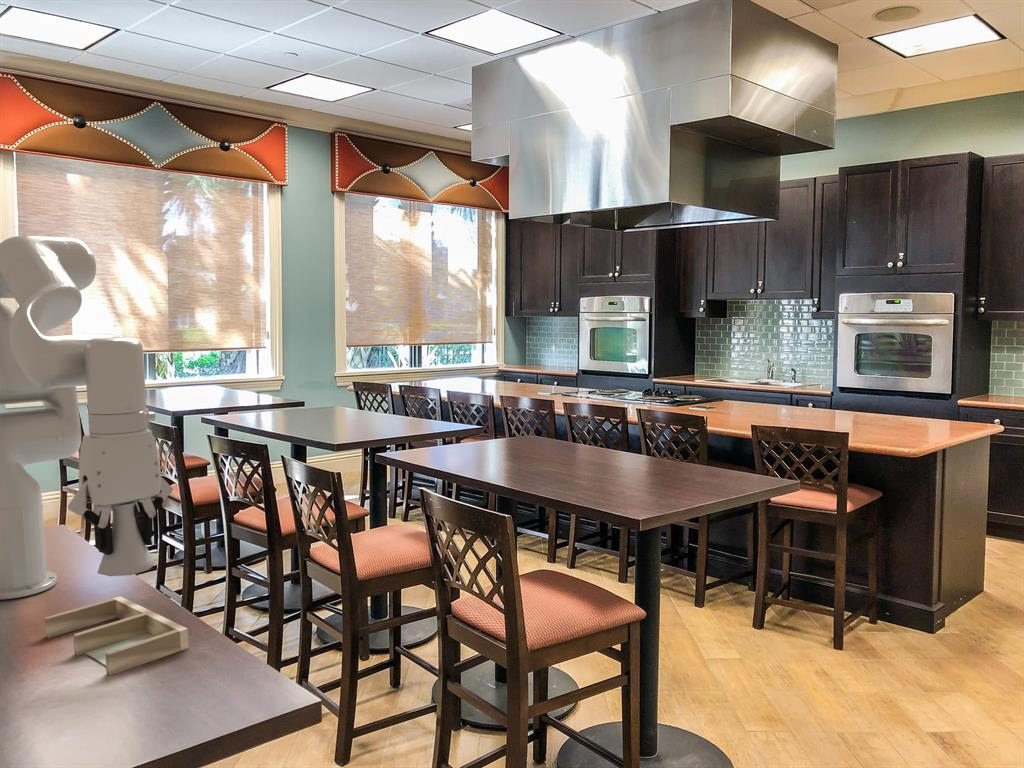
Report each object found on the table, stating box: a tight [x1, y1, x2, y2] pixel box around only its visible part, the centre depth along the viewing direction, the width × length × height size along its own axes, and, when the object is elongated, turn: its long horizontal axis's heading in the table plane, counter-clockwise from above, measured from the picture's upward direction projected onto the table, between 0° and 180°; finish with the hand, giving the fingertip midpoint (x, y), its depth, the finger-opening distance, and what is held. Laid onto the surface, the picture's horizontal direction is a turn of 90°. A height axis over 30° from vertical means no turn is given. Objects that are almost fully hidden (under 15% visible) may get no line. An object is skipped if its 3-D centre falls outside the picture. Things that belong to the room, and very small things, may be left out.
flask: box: [97, 501, 156, 577], centre depth 120 cm, size 7×7×10 cm
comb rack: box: [44, 595, 190, 677], centre depth 125 cm, size 21×12×3 cm, turn 51°
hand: (125, 546), depth 120 cm, fingers closed on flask, 5 cm apart
